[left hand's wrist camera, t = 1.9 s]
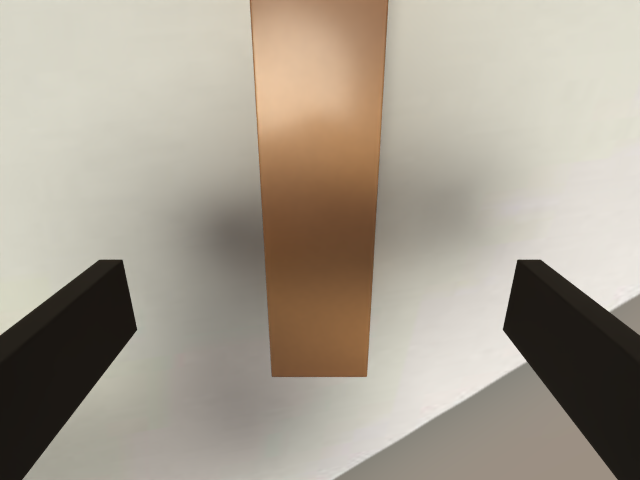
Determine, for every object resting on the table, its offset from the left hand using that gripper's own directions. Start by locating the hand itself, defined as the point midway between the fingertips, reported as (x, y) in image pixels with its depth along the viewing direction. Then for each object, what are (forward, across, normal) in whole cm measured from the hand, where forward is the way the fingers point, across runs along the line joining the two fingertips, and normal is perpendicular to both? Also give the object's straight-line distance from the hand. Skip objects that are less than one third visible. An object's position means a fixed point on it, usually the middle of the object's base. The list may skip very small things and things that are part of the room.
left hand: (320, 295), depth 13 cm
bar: (+12, 0, -21) cm, 24 cm away
